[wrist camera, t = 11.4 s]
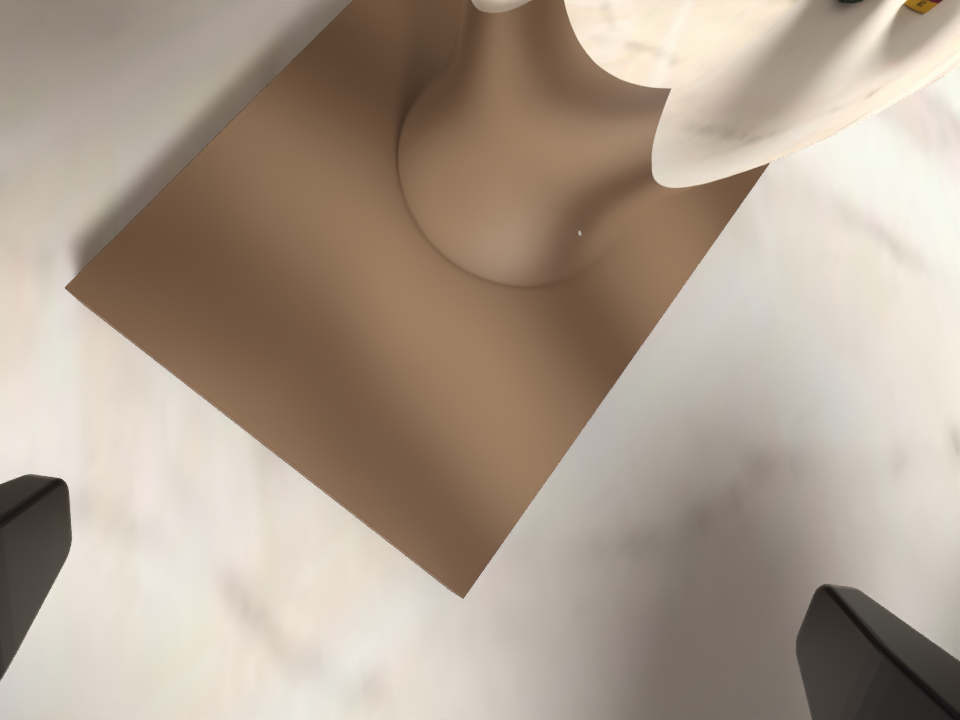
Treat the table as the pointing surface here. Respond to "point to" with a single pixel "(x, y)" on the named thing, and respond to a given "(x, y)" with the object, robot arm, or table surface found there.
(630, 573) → the table surface
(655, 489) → the table surface
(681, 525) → the table surface
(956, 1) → the silver metal tumbler
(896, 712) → the robot arm
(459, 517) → the walnut board
